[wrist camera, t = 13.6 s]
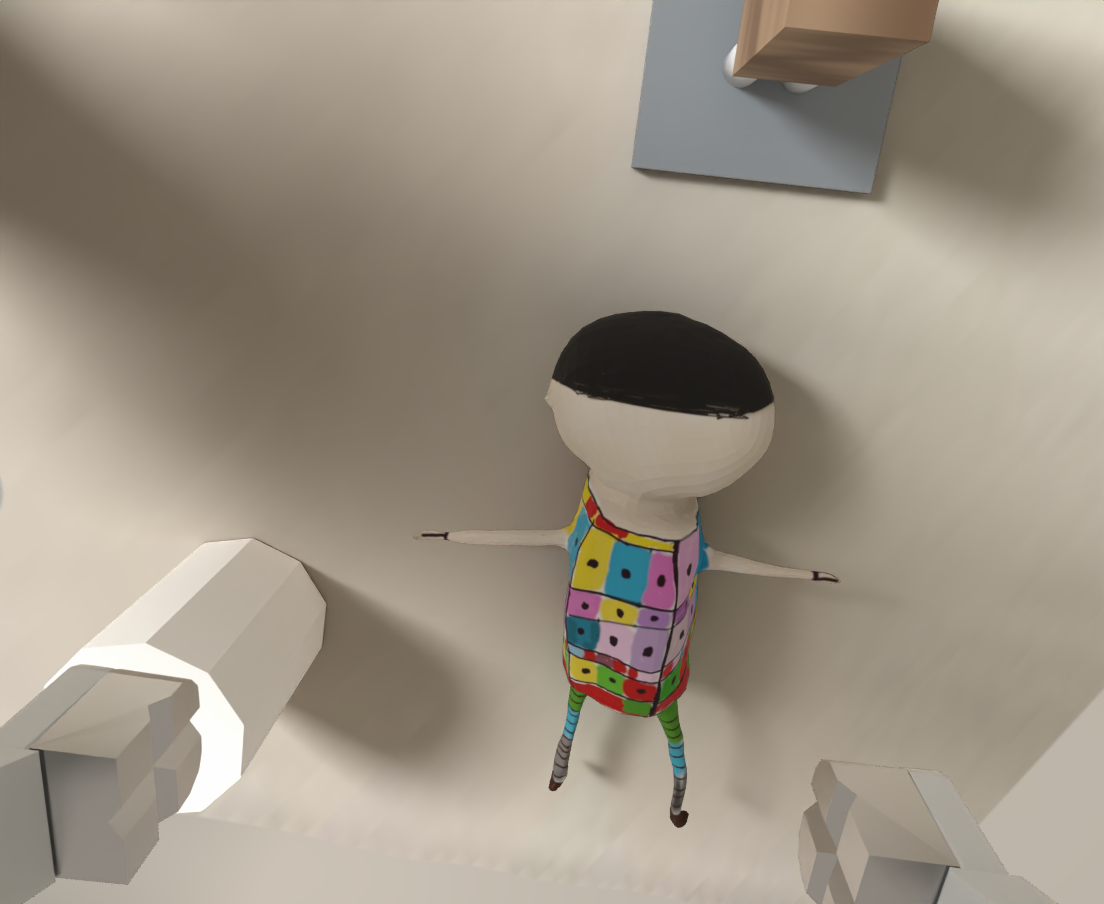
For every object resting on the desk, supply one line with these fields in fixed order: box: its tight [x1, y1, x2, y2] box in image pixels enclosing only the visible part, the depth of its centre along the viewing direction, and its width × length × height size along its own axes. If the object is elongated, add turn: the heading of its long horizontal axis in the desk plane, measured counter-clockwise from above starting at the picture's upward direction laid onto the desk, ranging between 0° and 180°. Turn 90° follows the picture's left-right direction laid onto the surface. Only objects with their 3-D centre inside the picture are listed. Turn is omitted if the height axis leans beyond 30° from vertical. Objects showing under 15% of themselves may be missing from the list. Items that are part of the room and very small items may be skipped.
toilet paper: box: [44, 538, 326, 813], centre depth 43 cm, size 10×10×12 cm
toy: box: [413, 311, 841, 828], centre depth 43 cm, size 23×9×30 cm
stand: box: [631, 0, 902, 193], centre depth 35 cm, size 12×14×5 cm
